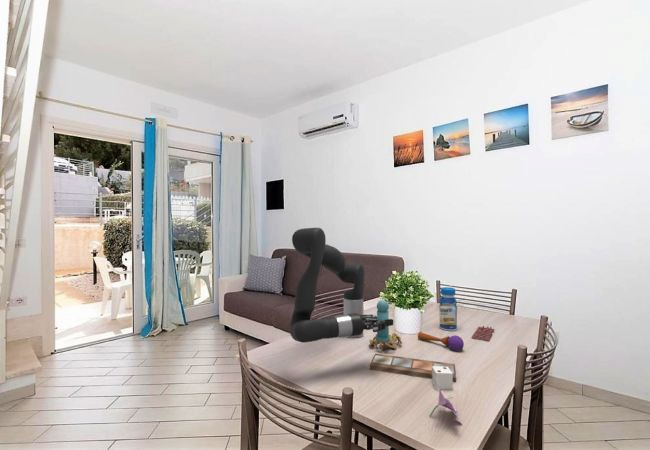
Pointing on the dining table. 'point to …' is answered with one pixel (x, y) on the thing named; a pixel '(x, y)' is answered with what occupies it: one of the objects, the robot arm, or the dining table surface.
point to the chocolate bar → (483, 333)
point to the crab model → (390, 343)
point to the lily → (445, 402)
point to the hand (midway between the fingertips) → (389, 320)
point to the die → (442, 377)
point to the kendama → (444, 340)
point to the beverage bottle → (448, 309)
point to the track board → (407, 366)
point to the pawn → (383, 315)
